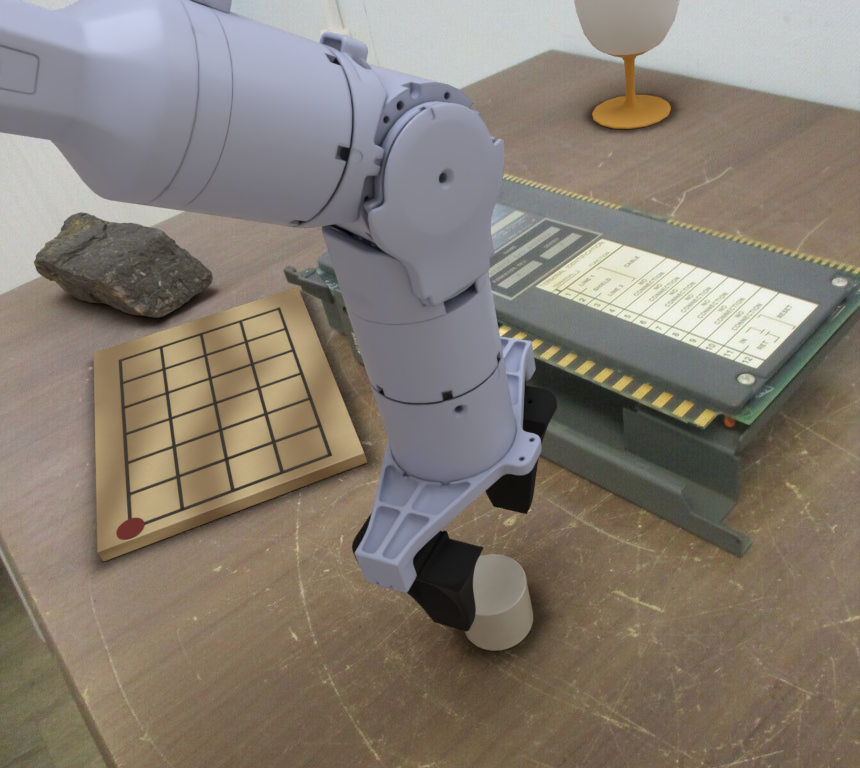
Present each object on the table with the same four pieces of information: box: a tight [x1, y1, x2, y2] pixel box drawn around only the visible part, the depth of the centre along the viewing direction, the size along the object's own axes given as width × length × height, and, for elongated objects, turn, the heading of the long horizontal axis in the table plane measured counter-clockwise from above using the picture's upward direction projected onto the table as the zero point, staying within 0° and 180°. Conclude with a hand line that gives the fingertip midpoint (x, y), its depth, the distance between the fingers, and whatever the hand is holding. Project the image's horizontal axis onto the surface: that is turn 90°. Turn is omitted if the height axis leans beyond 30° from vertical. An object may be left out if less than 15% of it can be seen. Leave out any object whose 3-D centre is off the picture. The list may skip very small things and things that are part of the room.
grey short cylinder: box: [464, 553, 534, 652], centre depth 46 cm, size 4×4×3 cm
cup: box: [573, 0, 680, 130], centre depth 91 cm, size 12×12×17 cm
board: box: [93, 286, 368, 562], centre depth 65 cm, size 18×24×1 cm
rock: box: [33, 211, 214, 318], centre depth 78 cm, size 17×7×10 cm
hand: (484, 560), depth 44 cm, fingers open, 7 cm apart
